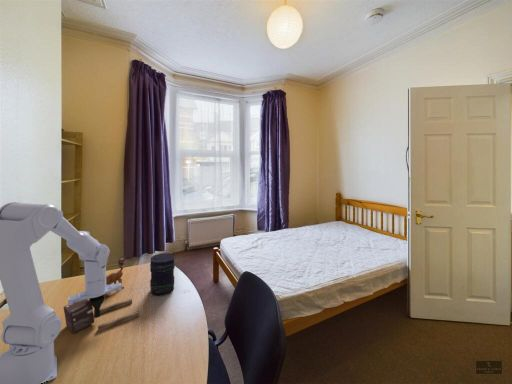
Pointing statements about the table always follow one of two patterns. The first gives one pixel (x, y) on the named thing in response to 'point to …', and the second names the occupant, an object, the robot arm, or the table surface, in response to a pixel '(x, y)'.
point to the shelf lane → (119, 320)
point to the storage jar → (162, 274)
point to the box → (78, 315)
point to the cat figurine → (115, 275)
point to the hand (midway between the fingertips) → (97, 315)
